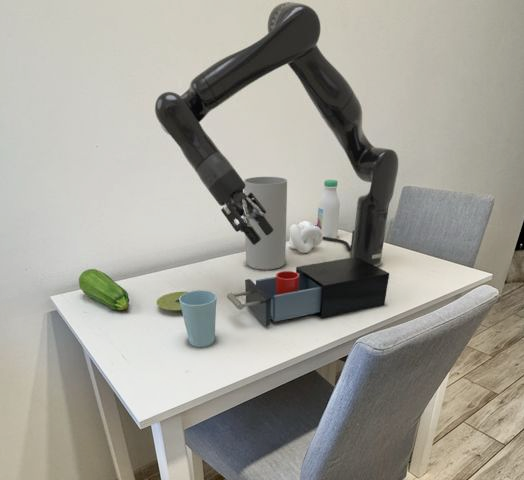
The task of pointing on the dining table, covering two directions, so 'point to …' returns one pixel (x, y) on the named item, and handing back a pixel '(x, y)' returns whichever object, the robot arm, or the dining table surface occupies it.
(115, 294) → the vegetable
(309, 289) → the dish drawer
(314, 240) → the white knot sculpture
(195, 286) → the dining table surface
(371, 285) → the black drawer casing
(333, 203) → the milk bottle
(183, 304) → the cup
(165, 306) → the mat
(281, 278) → the red tumbler
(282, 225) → the cylinder vase
